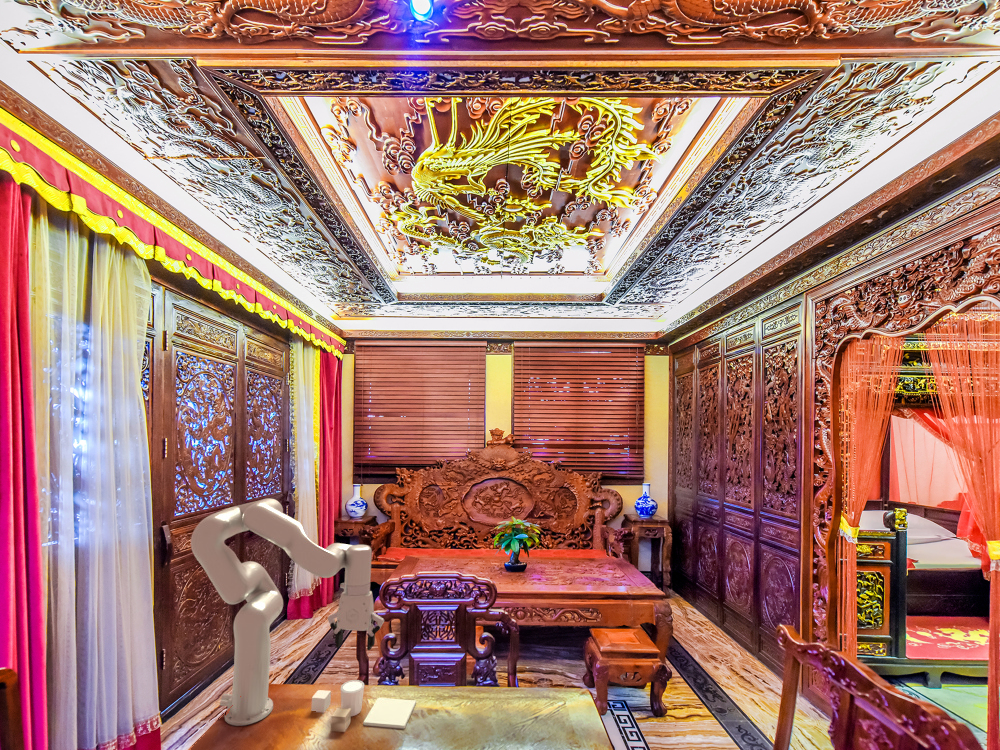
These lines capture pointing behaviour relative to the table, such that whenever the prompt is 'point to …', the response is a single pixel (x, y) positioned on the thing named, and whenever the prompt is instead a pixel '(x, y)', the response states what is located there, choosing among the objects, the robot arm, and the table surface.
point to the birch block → (340, 719)
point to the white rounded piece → (352, 696)
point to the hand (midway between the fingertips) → (354, 646)
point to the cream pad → (390, 713)
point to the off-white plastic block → (321, 701)
